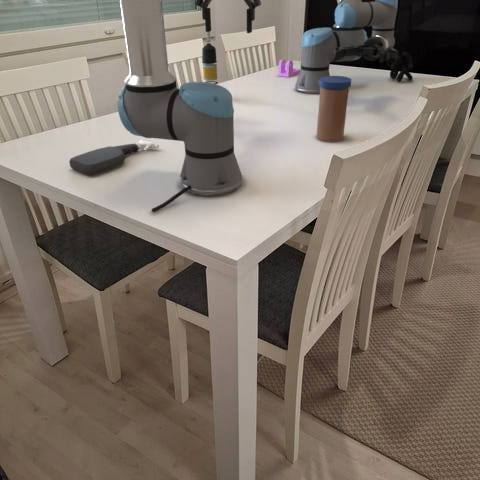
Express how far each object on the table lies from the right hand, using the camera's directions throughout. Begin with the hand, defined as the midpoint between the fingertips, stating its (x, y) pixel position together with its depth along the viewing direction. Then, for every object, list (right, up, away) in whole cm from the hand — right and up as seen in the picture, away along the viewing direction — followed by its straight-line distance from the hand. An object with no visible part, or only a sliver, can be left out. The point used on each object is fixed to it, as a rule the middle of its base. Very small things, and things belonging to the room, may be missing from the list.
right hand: (358, 57), depth 138 cm
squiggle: (+35, +15, +63) cm, 74 cm away
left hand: (-40, +8, +1) cm, 41 cm away
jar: (-9, -25, 0) cm, 27 cm away
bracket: (-12, +23, +77) cm, 81 cm away
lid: (-9, -11, -9) cm, 17 cm away
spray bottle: (-71, -34, -13) cm, 80 cm away
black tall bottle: (-48, 0, +41) cm, 63 cm away
